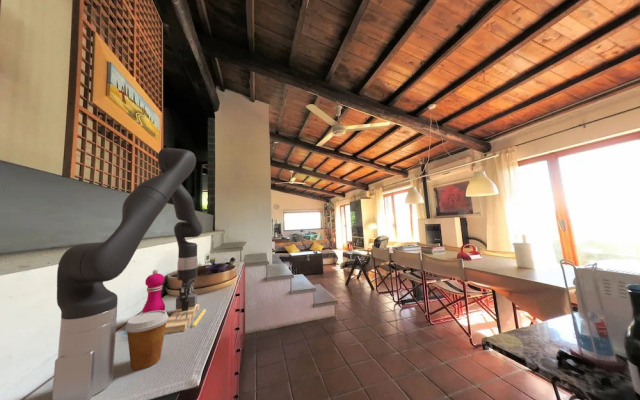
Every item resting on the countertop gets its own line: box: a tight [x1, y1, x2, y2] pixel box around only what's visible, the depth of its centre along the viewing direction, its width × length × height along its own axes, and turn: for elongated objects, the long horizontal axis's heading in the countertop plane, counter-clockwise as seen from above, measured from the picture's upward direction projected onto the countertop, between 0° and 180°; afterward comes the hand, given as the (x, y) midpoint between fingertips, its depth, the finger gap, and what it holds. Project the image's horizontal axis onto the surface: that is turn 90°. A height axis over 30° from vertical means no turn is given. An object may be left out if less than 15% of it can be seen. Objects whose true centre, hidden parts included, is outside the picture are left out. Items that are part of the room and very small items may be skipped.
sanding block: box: [175, 293, 198, 311], centre depth 93 cm, size 4×7×5 cm, turn 107°
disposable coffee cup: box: [124, 310, 170, 371], centre depth 60 cm, size 10×10×12 cm
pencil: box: [191, 308, 207, 328], centre depth 87 cm, size 16×1×1 cm, turn 14°
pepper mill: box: [141, 269, 166, 314], centre depth 86 cm, size 7×7×20 cm
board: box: [164, 303, 200, 335], centre depth 86 cm, size 22×8×2 cm, turn 17°
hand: (186, 307), depth 93 cm, fingers closed on board, 4 cm apart
